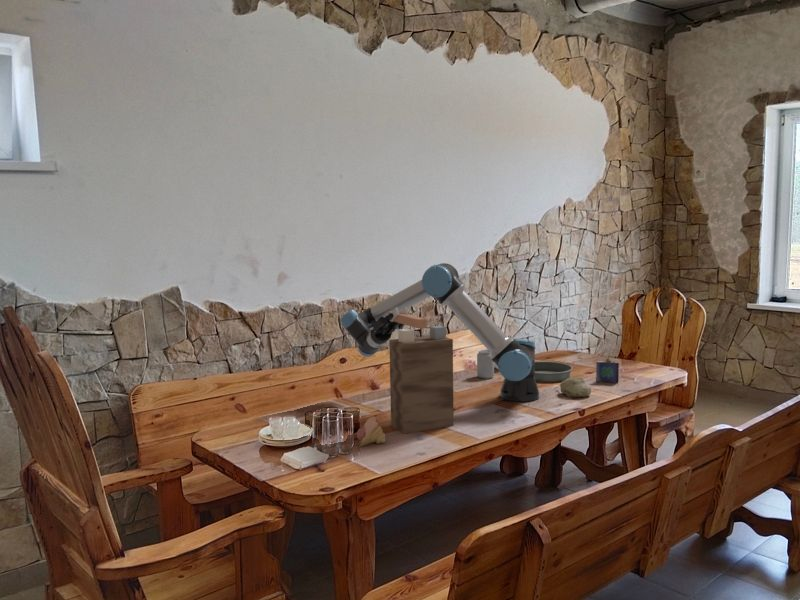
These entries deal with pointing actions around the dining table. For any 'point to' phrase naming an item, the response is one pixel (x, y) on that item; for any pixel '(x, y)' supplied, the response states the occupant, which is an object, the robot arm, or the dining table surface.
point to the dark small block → (607, 371)
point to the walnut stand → (421, 384)
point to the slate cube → (437, 332)
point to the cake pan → (551, 371)
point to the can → (485, 365)
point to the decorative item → (575, 387)
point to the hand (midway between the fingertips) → (402, 310)
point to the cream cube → (406, 335)
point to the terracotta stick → (410, 320)
